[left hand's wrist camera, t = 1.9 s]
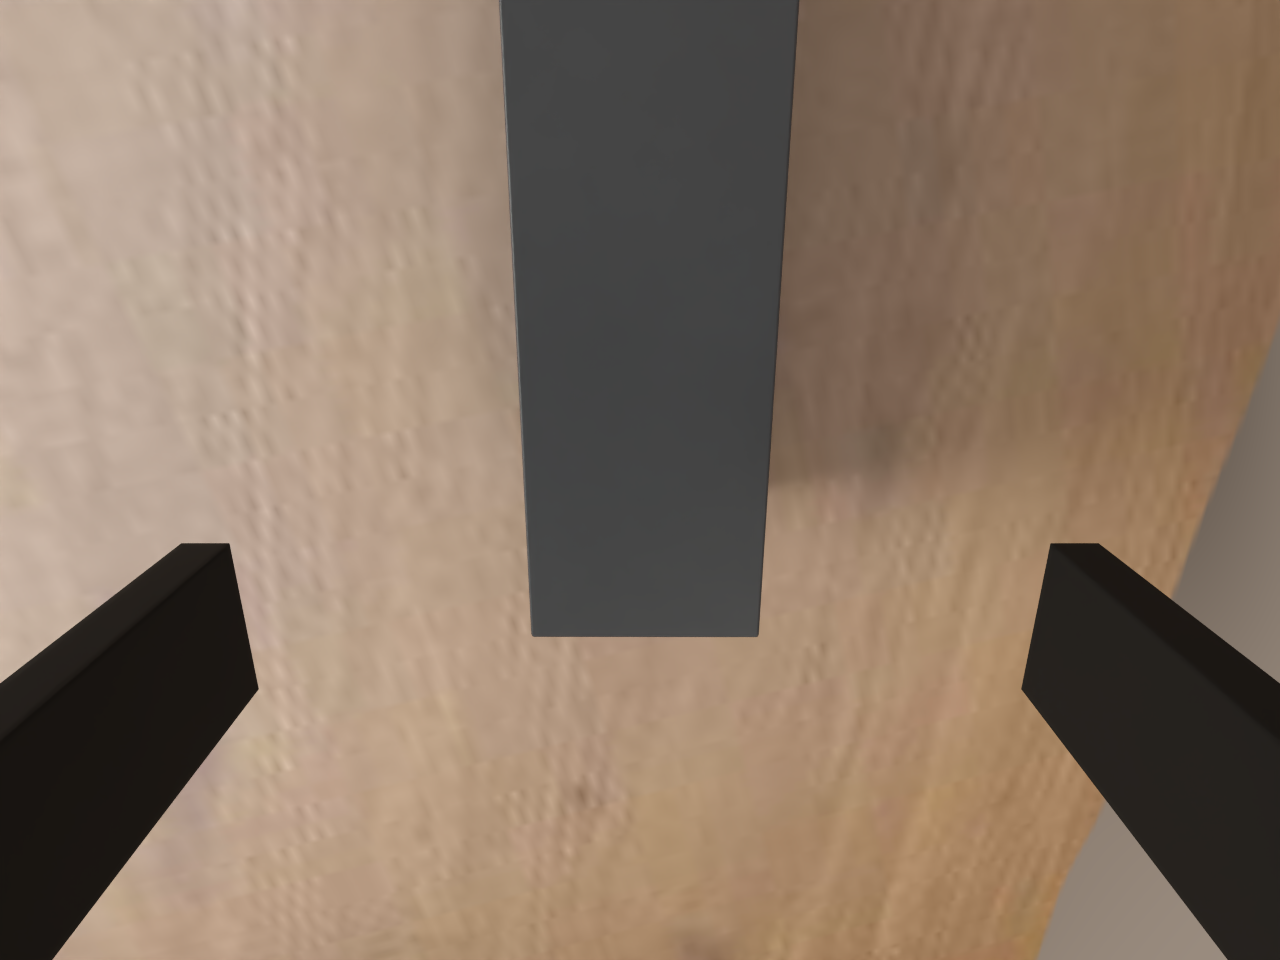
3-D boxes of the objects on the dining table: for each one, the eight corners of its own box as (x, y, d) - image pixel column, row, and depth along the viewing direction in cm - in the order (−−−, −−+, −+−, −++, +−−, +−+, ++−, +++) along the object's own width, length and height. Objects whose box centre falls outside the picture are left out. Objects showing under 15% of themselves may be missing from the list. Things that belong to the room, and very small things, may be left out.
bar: (720, 495, 27) (758, 637, 18) (565, 494, 26) (531, 637, 18) (755, -339, 19) (849, -766, 11) (538, -341, 19) (458, -768, 11)
